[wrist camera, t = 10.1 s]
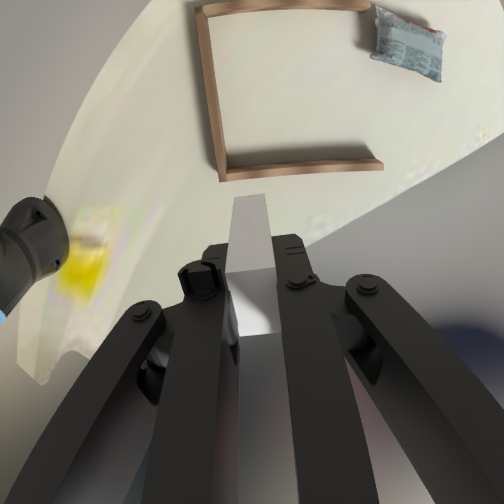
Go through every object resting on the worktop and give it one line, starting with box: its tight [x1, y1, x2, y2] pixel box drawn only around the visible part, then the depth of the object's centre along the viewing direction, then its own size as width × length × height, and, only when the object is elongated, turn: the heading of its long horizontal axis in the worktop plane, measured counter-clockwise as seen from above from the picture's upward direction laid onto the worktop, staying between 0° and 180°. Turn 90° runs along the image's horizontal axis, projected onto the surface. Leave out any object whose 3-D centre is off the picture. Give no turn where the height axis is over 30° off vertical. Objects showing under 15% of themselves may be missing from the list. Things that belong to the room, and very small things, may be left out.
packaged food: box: [370, 5, 447, 82], centre depth 26 cm, size 9×12×5 cm
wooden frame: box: [194, 0, 384, 182], centre depth 32 cm, size 22×24×3 cm
